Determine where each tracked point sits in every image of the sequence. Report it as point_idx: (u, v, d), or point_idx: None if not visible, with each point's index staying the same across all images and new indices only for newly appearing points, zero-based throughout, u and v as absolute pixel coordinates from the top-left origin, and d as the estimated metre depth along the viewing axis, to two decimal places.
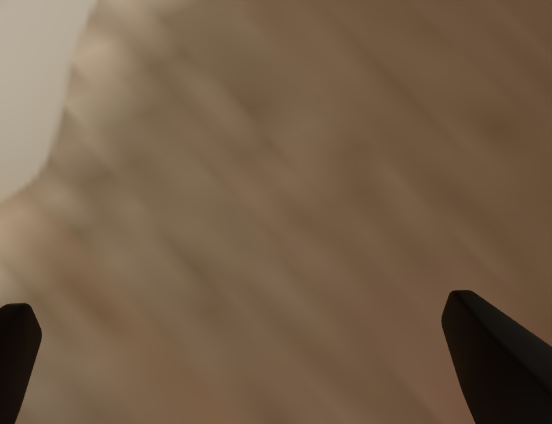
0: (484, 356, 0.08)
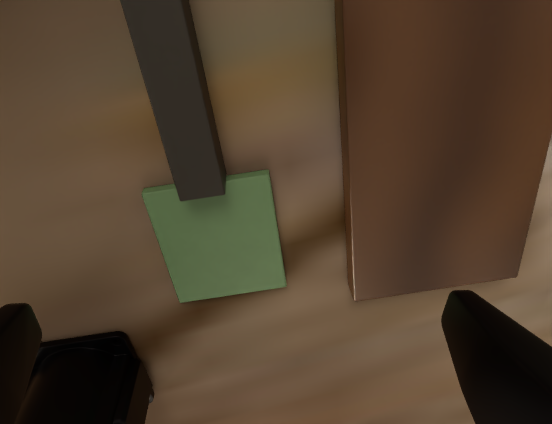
0: (484, 356, 0.08)
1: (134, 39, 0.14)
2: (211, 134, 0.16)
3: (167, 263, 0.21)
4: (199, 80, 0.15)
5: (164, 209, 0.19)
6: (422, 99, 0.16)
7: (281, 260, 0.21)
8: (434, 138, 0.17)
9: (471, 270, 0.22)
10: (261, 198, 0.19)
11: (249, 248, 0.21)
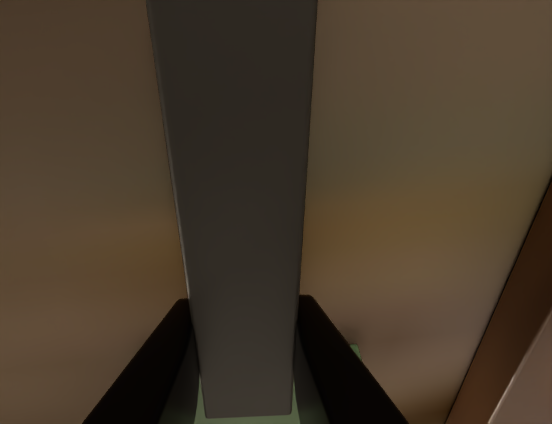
0: (300, 363, 0.07)
1: (174, 158, 0.06)
2: (295, 332, 0.08)
3: None
4: (300, 246, 0.07)
5: None
6: None
7: None
8: None
9: None
10: None
11: None
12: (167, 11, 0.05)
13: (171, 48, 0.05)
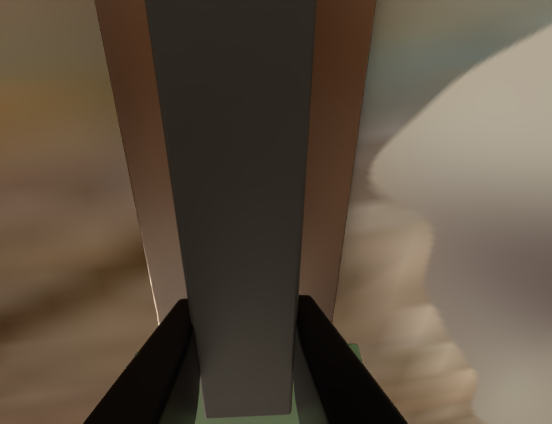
0: (300, 363, 0.07)
1: (173, 156, 0.06)
2: None
3: None
4: (300, 245, 0.07)
5: None
6: None
7: None
8: None
9: None
10: None
11: None
12: (165, 7, 0.05)
13: (169, 45, 0.05)
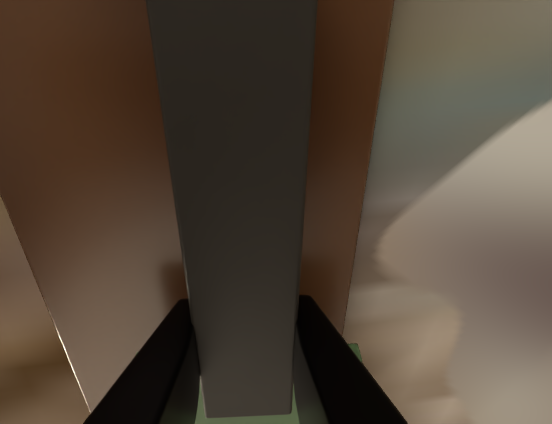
0: (300, 363, 0.07)
1: (174, 155, 0.06)
2: None
3: None
4: (300, 244, 0.07)
5: None
6: (138, 234, 0.11)
7: None
8: (171, 283, 0.12)
9: None
10: None
11: None
12: (166, 7, 0.05)
13: (170, 45, 0.05)
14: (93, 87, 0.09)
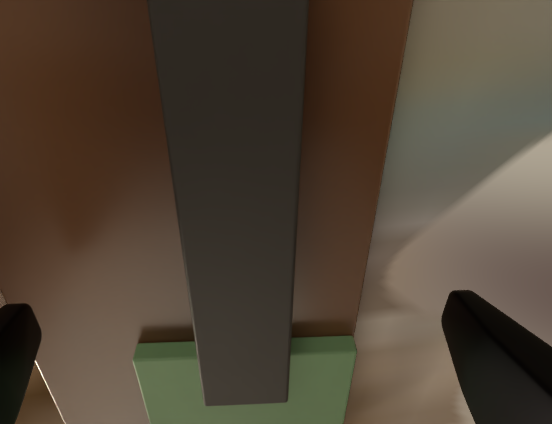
0: (484, 356, 0.08)
1: (174, 149, 0.06)
2: (291, 320, 0.08)
3: None
4: (295, 235, 0.07)
5: (168, 382, 0.11)
6: (124, 266, 0.10)
7: None
8: (162, 317, 0.11)
9: None
10: (333, 380, 0.12)
11: None
12: (166, 8, 0.05)
13: (170, 43, 0.05)
14: (69, 109, 0.08)
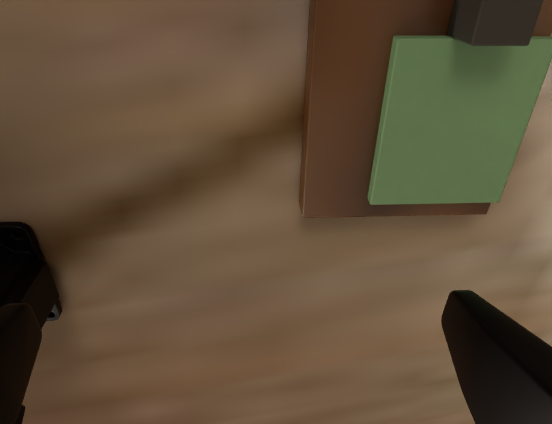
0: (484, 356, 0.08)
1: None
2: None
3: (382, 147, 0.17)
4: None
5: (415, 67, 0.15)
6: None
7: (511, 165, 0.18)
8: (419, 7, 0.14)
9: None
10: (533, 73, 0.15)
11: (484, 142, 0.17)
12: None
13: None
14: None
